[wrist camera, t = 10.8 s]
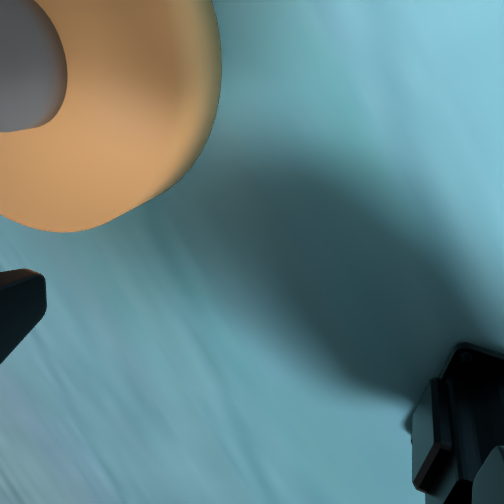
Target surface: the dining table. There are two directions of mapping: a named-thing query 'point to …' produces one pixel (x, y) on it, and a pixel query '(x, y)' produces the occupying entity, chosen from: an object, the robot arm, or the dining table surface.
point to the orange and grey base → (101, 105)
